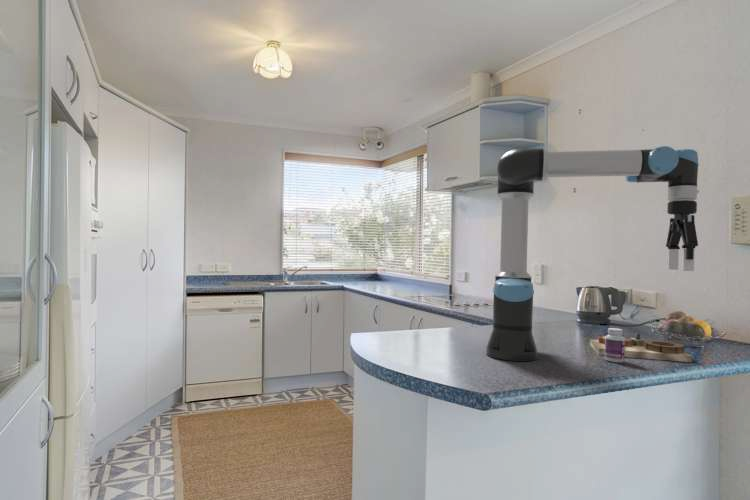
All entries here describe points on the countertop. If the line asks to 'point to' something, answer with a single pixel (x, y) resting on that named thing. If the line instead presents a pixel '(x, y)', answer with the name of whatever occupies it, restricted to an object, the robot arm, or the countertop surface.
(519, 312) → the robot arm
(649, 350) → the gear board
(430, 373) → the countertop surface
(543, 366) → the countertop surface
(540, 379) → the countertop surface
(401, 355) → the countertop surface
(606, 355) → the pill bottle
